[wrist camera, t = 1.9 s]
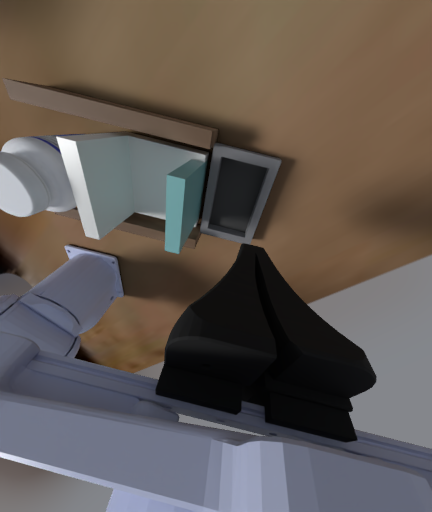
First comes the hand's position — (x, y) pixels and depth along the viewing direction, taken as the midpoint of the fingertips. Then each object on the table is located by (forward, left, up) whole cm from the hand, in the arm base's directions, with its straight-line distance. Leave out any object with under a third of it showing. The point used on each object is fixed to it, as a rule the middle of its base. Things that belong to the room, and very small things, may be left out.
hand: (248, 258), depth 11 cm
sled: (0, +9, -10) cm, 13 cm away
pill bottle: (0, +17, -11) cm, 20 cm away
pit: (0, +2, -10) cm, 10 cm away
